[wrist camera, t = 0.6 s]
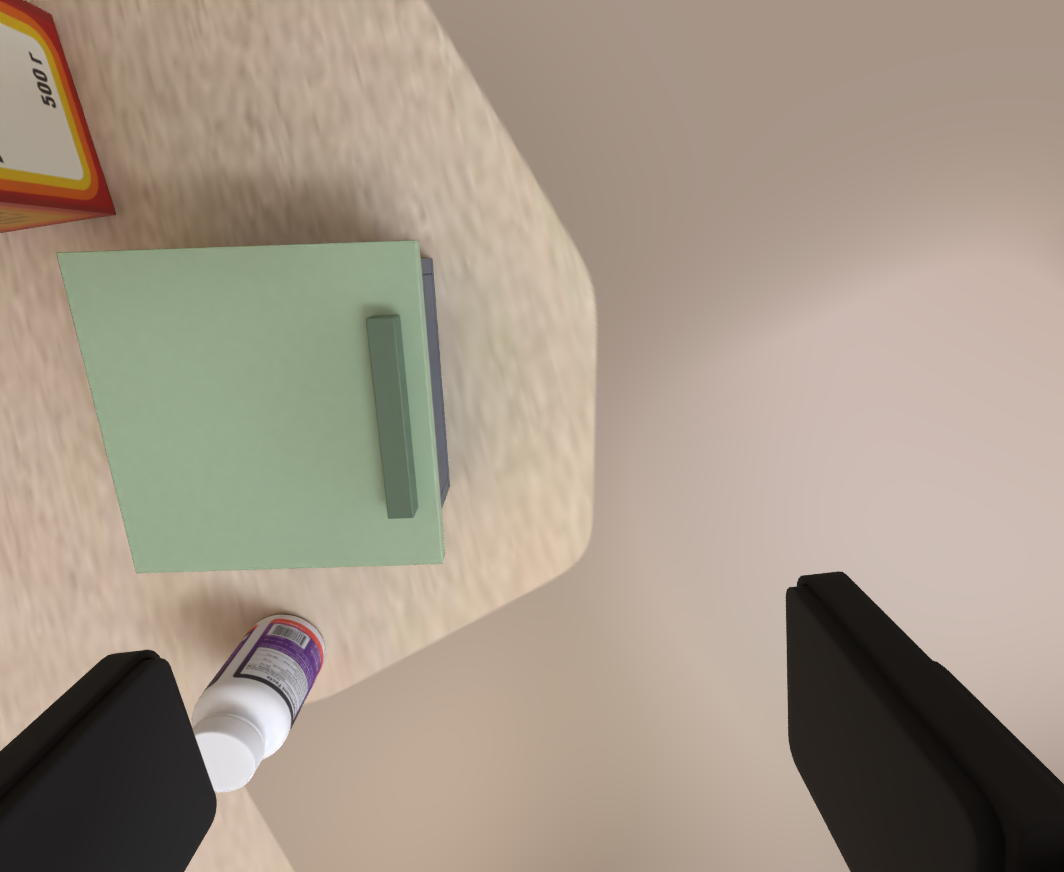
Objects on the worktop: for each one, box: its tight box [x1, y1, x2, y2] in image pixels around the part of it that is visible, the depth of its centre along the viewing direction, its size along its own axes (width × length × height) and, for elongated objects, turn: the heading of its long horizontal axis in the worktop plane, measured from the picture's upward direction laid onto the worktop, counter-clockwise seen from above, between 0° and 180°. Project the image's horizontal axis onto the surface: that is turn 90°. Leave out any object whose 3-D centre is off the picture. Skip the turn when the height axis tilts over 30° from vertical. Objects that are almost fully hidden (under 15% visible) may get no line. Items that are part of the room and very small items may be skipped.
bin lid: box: [57, 240, 445, 573], centre depth 27 cm, size 15×15×2 cm
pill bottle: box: [192, 615, 325, 792], centre depth 36 cm, size 5×5×10 cm
